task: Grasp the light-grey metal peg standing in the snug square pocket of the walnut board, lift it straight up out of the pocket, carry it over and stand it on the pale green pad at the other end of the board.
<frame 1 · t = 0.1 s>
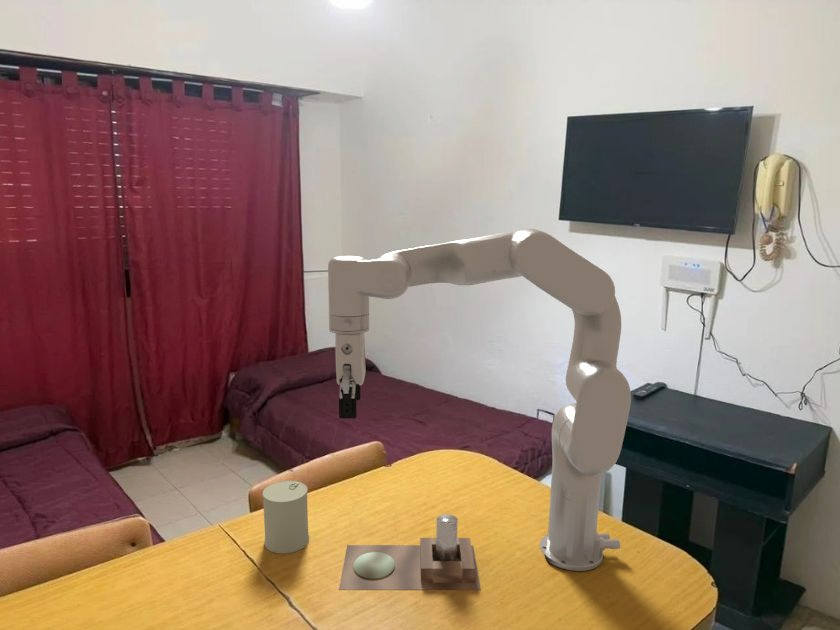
hand: (350, 408, 116), 31 cm above the table, fingers open, 9 cm apart
can: (287, 541, 126), on the table
peg: (446, 566, 117), point 1 cm above the table, touching pocket board
pocket board: (410, 570, 117), on the table
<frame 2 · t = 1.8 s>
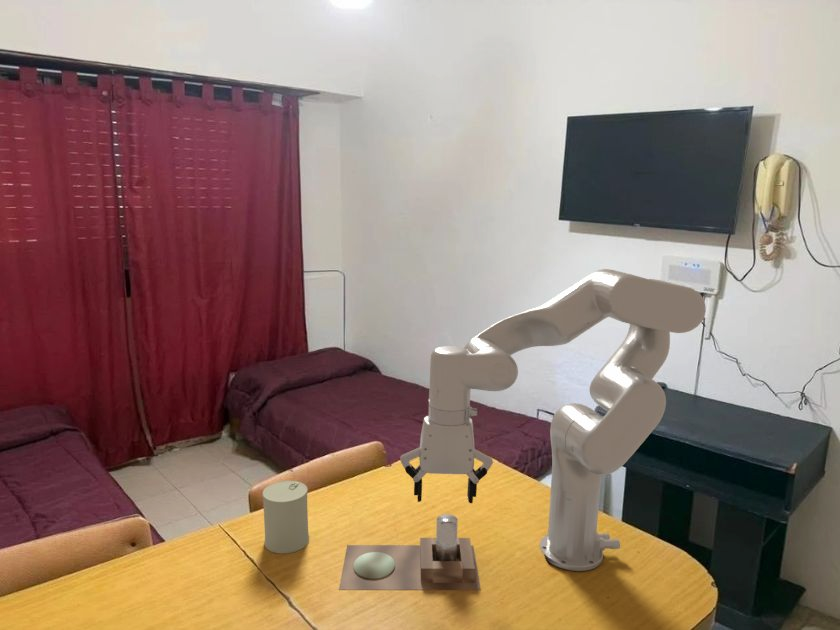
hand: (444, 499, 113), 15 cm above the table, fingers open, 9 cm apart
nothing on the table moved.
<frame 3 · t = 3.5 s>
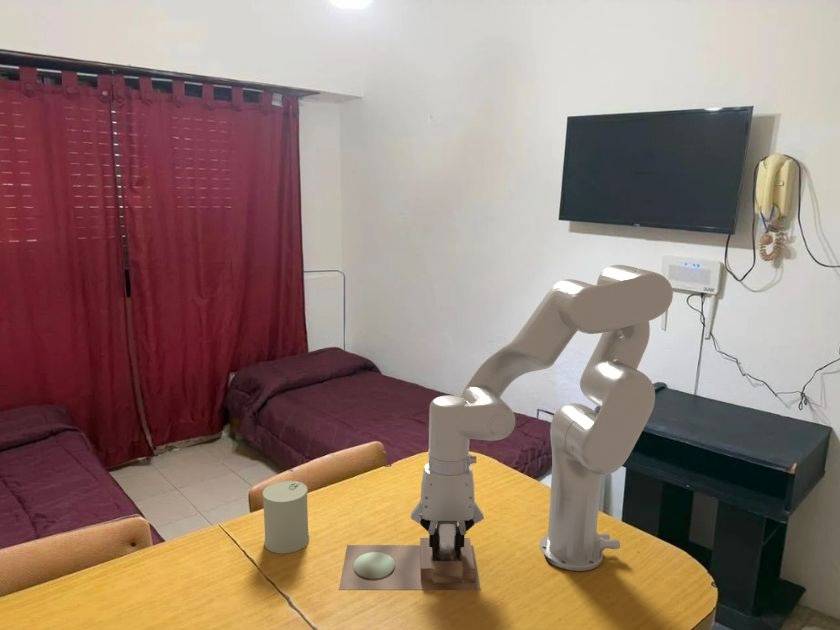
hand: (446, 548, 116), 5 cm above the table, fingers closed on peg, 4 cm apart
peg: (446, 566, 117), point 1 cm above the table, touching gripper, pocket board
everything else where it was.
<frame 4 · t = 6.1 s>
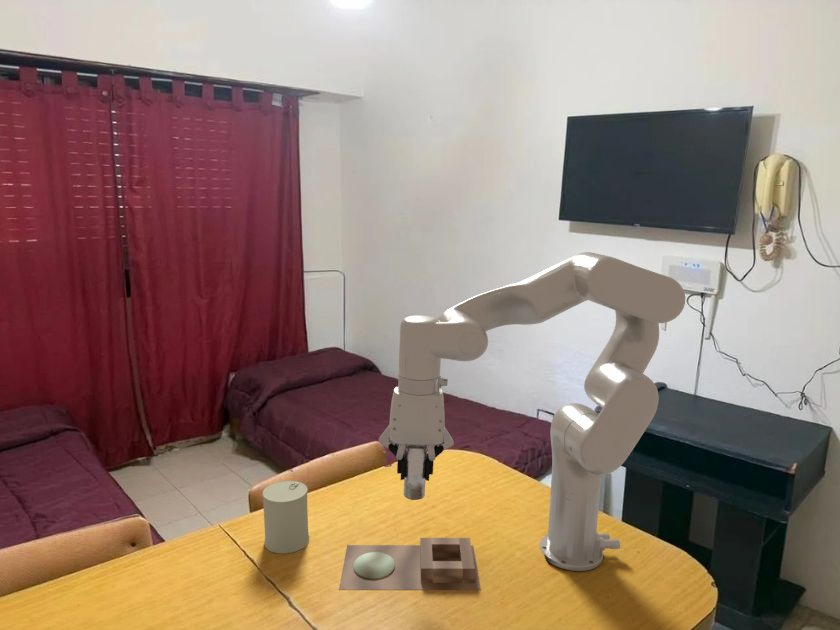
hand: (414, 476, 112), 20 cm above the table, fingers closed on peg, 4 cm apart
peg: (414, 494, 113), point 16 cm above the table, touching gripper
everything else where it was.
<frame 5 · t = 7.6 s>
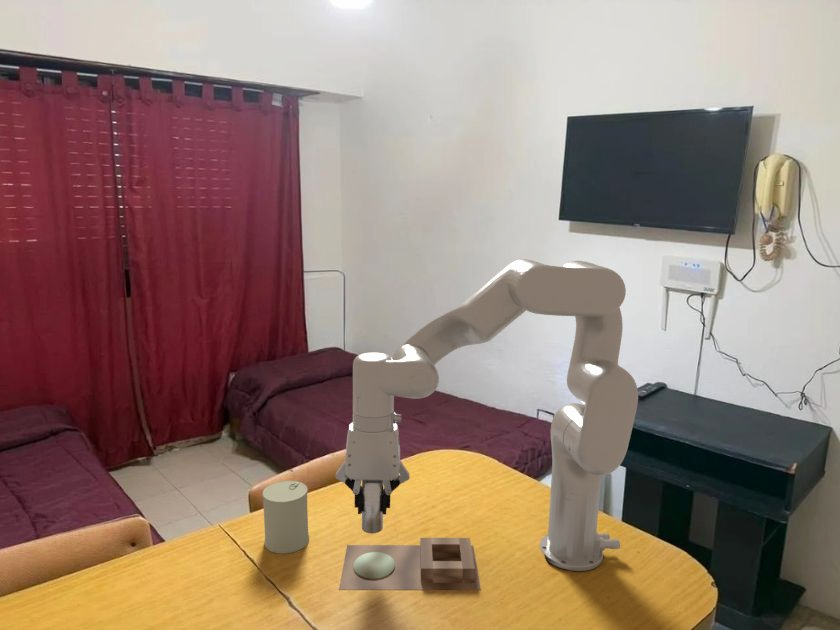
hand: (372, 509, 114), 13 cm above the table, fingers closed on peg, 4 cm apart
peg: (372, 527, 115), point 9 cm above the table, touching gripper
everything else where it was.
when the fingers open (6 cm above the table, at t = 8.9 s): peg drops 1 cm, resting on pocket board.
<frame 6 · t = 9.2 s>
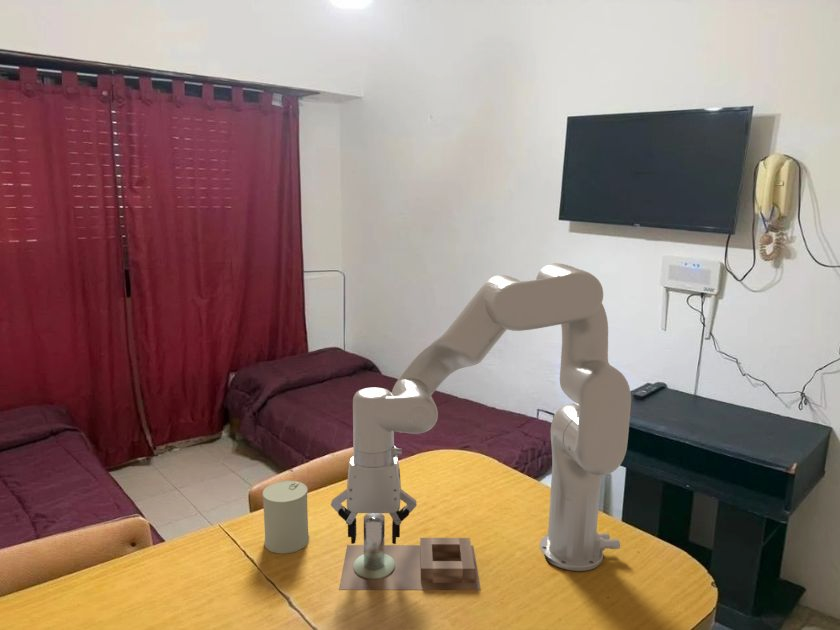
hand: (374, 539, 115), 7 cm above the table, fingers open, 7 cm apart
peg: (374, 564, 116), point 1 cm above the table, touching pocket board
everything else where it was.
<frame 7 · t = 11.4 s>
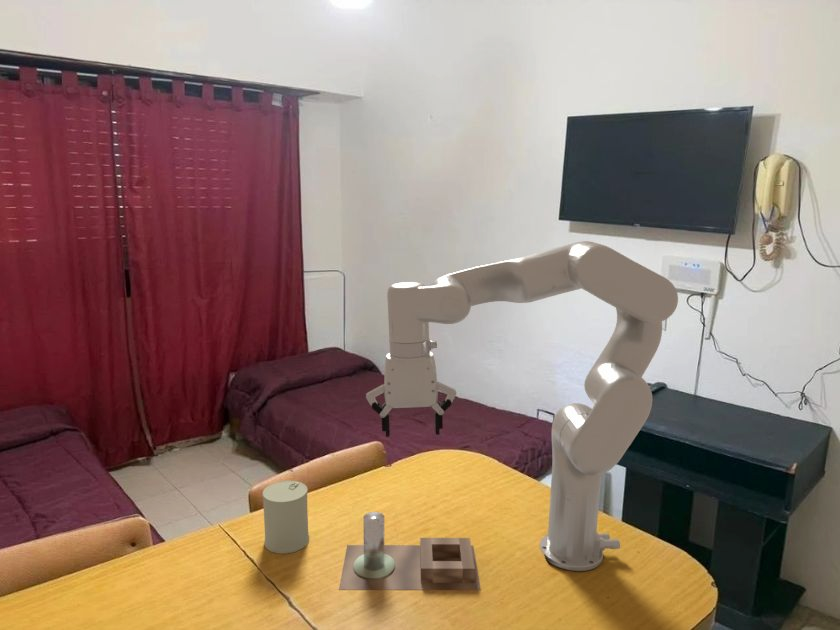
hand: (412, 433, 116), 26 cm above the table, fingers open, 9 cm apart
nothing on the table moved.
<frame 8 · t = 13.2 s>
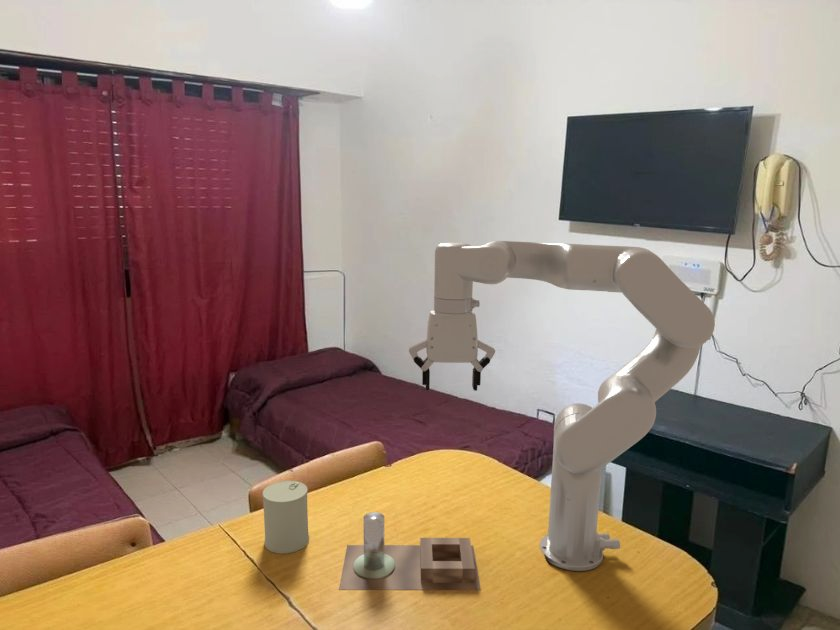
hand: (451, 388, 122), 33 cm above the table, fingers open, 9 cm apart
nothing on the table moved.
at the end: peg inside the target area (0.0 cm from its centre), point 1.4 cm above the table; peg tilted 0°; the gripper is holding nothing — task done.
